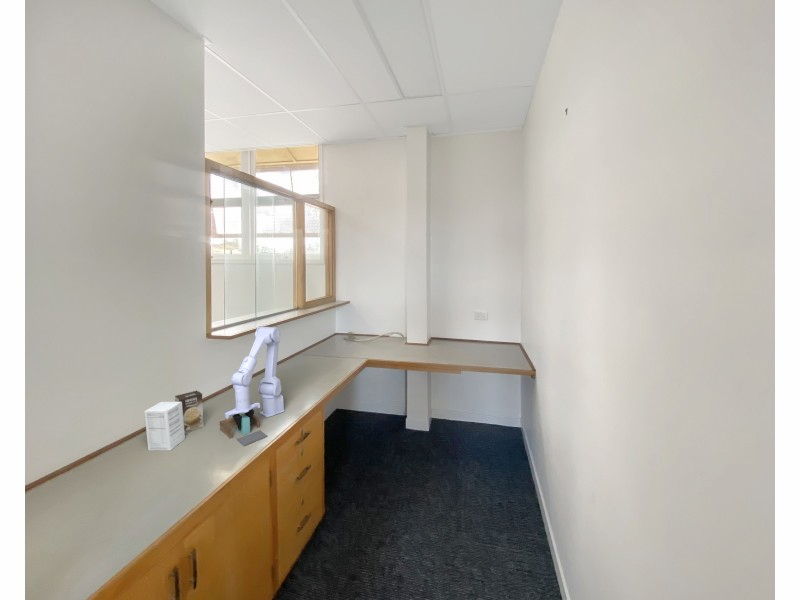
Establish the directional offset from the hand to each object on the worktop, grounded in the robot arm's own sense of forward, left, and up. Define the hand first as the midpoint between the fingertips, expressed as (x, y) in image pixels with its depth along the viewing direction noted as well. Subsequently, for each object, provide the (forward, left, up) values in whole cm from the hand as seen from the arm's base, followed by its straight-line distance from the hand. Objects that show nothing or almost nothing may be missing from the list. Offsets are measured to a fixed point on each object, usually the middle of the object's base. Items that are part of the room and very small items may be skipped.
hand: (243, 427), depth 146 cm
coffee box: (+15, -21, -2) cm, 26 cm away
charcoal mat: (0, +8, -2) cm, 8 cm away
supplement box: (+26, -13, -2) cm, 29 cm away
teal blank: (0, 0, -2) cm, 2 cm away
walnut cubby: (0, -4, -2) cm, 4 cm away
